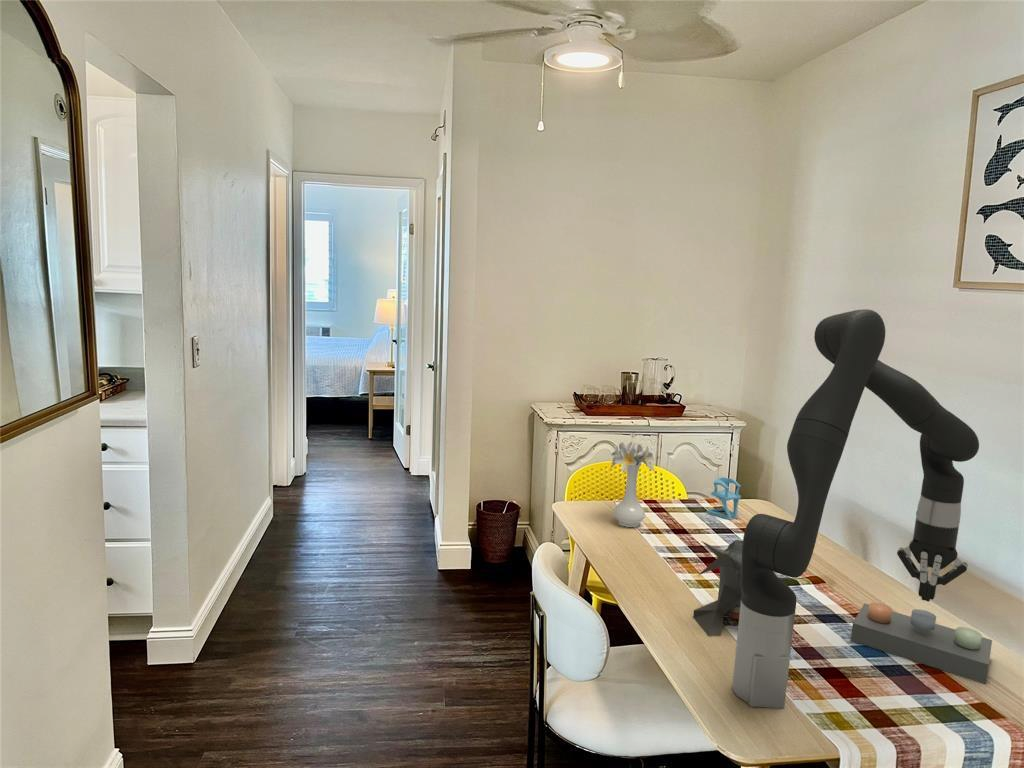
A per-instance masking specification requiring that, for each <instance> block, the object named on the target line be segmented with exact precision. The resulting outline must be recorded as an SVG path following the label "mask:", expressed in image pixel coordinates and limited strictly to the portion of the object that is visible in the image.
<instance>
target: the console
mask: <svg viewBox="0 0 1024 768" xmlns="http://www.w3.org/2000/svg"><path fill="white" fill-rule="evenodd" d="M869 604H870V603H869ZM869 604H868V603H863V604H862V607H861V608H860V610H859V612H858V614H857V615H856V616H855V619H854V620H853V621H852V624H851V625H852V627H851V633H850V641H851V642H854V643H857V644H860V645H862V646H866V647H869V648H873V649H876V650H879V651H882V652H884V653H888V654H892V655H894V656H897V657H901V658H904V659H907V660H910V661H913V662H915V663H916V662H917V663H920V664H923V665H925V666H929V667H932V668H936V669H938V670H941V671H944V672H948V673H950V674H954V675H957V676H960V677H963V678H966V679H969V680H972V681H975V682H978V683H982V684H986V683H987V677H988V670H989V665H990V659H991V651H992V644H993V640H992V639H990V638H986V637H983V636H982V638H981V644H980V648H979V649H976V650H974V649H968V648H964V647H962V646H960V645H958V644H956V643H955V641H954V638H955V632H956V628H951V627H948V626H944V625H940V624H939V623H938V624H937V623H935V629H934V630H931V631H928V630H922V629H919V628H916V627H914V626H913V625H912V624H911V623H910V621H911V615H910V616H909V615H906V614H903V613H899V612H896V611H893V610H892V615H891V621H890V622H889V623H880V622H876V621H874V620H872V619H870V618H869V617H868V609H869Z"/></svg>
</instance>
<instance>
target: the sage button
mask: <svg viewBox="0 0 1024 768" xmlns="http://www.w3.org/2000/svg"><path fill="white" fill-rule="evenodd" d="M955 629H956V632H955V638H954V641H955V643H956V644H958V645H960V646H962V647H964V648H968V649H974V650H976V649H979V648H980V644H981V638H982V637H983V636H982V635H983V634H981V633H980V632H978V630H975V629H973V628H969V627H965V626H960V627H959V626H958V627H956V628H955Z"/></svg>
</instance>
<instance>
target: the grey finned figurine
mask: <svg viewBox="0 0 1024 768" xmlns="http://www.w3.org/2000/svg"><path fill="white" fill-rule="evenodd" d="M701 543H702V544H703V545H705V546H706V548H707V549H708V550H709V551H711V552H712V554H714V556H716V559H715V560H714V561H712V562H711V563H710V564H709V565H708V566H706V568H704V569H702V571H701V572H700V573H698V574H697V576H700V575H702V574H705V573H707V572H710V571H713V570H716V569H718V568H719V583H718V584H719V585H718V593H717V600H714V601H712V602H709V603H708V604H705V605H703V606H700V607H697V608H696V609H694V610H693V616H692V617H693V619H694V620H695V621H696V622H697V624H698V625H699V626H700V628H701V629H702V630H703V632H704V633H705V632H706V633H705V634H706V636H708V637H721V636H722V630H723V623H724V618H729V619H735V620H739V614H740V606H741V596H742V591H741V585H740V583H741V566H742V544H743V540H741V539H740V540H739V539H736V540H733V541H732V542H731V543H730V544H729V545H728V547H727V548H725V549H724V550H721V549H719V548H717V547H714V546H713V545H710V544H709V543H707V542H705V541H703V540H701Z"/></svg>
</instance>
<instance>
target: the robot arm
mask: <svg viewBox="0 0 1024 768" xmlns="http://www.w3.org/2000/svg"><path fill="white" fill-rule="evenodd" d="M885 325H886V324H885V322H884V320H883V318H882V317H881V315H880V314H879V313H878V312H877V311H875V310H872V309H869V308H867V309H856V310H851V311H846V312H842V313H837V314H833V315H830V316H827V317H825V318H823V319H821V320H820V321H819V322H818V323H817V325H816V327H815V331H814V336H813V338H814V343H815V346H816V348H817V350H818V352H819V353H820V354H821V355H822V356H823V357H824V358H825V359H826V360H827V361H829V362H830V363H832V364H833V367H832V369H831V371H830V373H829V374H828V376H827V377H826V379H825V380H824V381H823V382H822V383H821V385H820V386H819V387H818V388H817V389H816V390H815V391H814V393H812V394H811V396H810V397H809V398H808V399H807V400H806V402H805V403H804V404H803V405H802V407H801V408H800V410H799V411H798V413H797V416H796V418H795V420H794V422H793V425H792V429H791V431H790V434H789V437H788V440H787V444H786V453H787V457H788V461H789V462H788V463H789V465H790V468H791V471H792V474H793V478H794V481H795V485H796V490H797V497H798V500H797V509H796V514H795V517H794V521H790V520H787V519H783V518H781V517H780V518H779V517H776V516H772V515H768V514H766V513H757V514H755V515H753V516H752V517H751V518H750V519H749V520H748V523H747V524H746V527H745V529H744V534H743V537H742V538H743V539H742V541H743V544H742V566H741V583H740V585H741V591H742V596H741V606H740V614H739V619H738V625H737V635H736V636H737V637H736V646H735V653H734V655H735V656H734V662H733V663H734V665H733V675H732V685H731V688H732V691H733V692H734V694H735V696H737V697H738V698H739V699H741V700H742V701H744V702H746V703H747V704H748V706H750V707H754V708H777V709H779V708H781V709H783V708H785V705H786V696H787V687H788V681H789V679H788V678H789V671H790V663H791V662H790V661H791V660H790V659H791V652H792V643H793V633H794V626H795V625H794V624H795V617H796V609H797V596H796V593H795V592H794V590H793V589H792V588H791V587H790V586H788V585H787V584H786V583H785V582H784V581H782V580H781V579H780V578H779V576H776V575H777V574H779V575H783V576H785V577H789V578H792V579H798V578H799V577H801V576H802V575H804V573H805V572H806V570H807V569H808V567H809V565H810V562H811V560H812V557H813V553H814V550H815V546H816V543H817V537H818V534H819V530H820V526H821V521H822V518H823V514H824V510H825V506H826V501H827V498H828V495H829V492H830V489H831V485H832V483H833V480H834V477H835V474H836V472H837V469H838V465H839V463H840V461H841V458H842V456H843V452H844V450H845V447H846V443H847V441H848V437H849V435H850V434H849V433H850V430H851V427H852V423H853V420H854V417H855V415H856V412H857V410H858V406H859V404H860V400H861V398H862V395H863V392H864V390H865V388H866V389H868V391H870V392H872V394H874V395H875V396H877V397H878V398H879V399H880V400H881V401H883V402H884V404H886V405H887V406H888V407H889V408H890V409H891V410H892V411H893V412H894V414H896V415H897V416H898V417H899V418H900V419H901V420H902V421H903V422H904V423H905V424H906V425H907V426H908V427H909V428H911V429H912V430H913V431H916V432H918V433H920V437H919V452H920V460H921V467H922V472H923V473H922V474H923V478H922V483H921V492H920V495H919V496H920V497H919V499H918V502H917V509H916V512H915V521H914V522H915V523H914V529H913V537H912V540H911V541H910V543H909V544H908V545H907V546H906V547H899V548H898V549H897V552H896V555H897V557H899V560H900V561H901V562H902V564H903V566H904V567H905V569H906V570H907V572H908V574H909V575H910V576H911V578H915V579H916V580H918V581H919V587H918V596H919V597H921V599H920V600H921V601H925V602H930V601H933V600H934V599H935V597H936V590H937V587H938V585H942V586H946V585H948V584H949V583H950V582H952V581H954V580H955V579H956V578H958V577H960V576H961V575H962V574H964V573H965V572H966V571H967V569H968V563H967V562H965V561H964V562H963V561H962V560H961V559H960V558H959V557H958V552H957V541H958V534H959V530H960V529H959V528H960V524H961V523H960V522H961V516H962V498H963V492H964V483H965V479H964V476H963V474H962V473H961V472H960V471H958V469H956V467H955V466H954V463H953V462H957V463H959V462H960V463H961V462H962V463H963V462H967V461H971V459H973V458H974V457H975V456H976V455H977V454H978V452H979V448H980V441H979V437H978V435H977V434H976V432H975V431H974V429H973V428H972V427H971V426H970V425H968V424H967V423H966V422H965V421H963V420H962V419H960V417H958V416H957V415H955V414H954V413H953V412H951V411H950V410H947V408H945V407H944V406H942V404H940V402H939V401H938V400H937V399H936V397H934V396H933V395H932V394H931V393H930V392H929V390H928V389H926V387H925V386H923V385H922V384H921V383H920V382H918V381H917V380H915V378H913V377H910V376H909V375H907V374H905V373H903V372H901V371H900V370H898V369H895V368H893V367H891V366H889V365H888V364H886V363H884V362H882V361H881V360H880V359H879V357H880V355H881V352H882V350H883V348H884V345H885V340H886V326H885ZM912 555H913V557H914V558H915V560H916V561H917V563H918V564H919V568H918V567H917V565H915V563H914V562H913V560H912V558H911V556H912ZM952 563H953V564H952ZM951 564H952V565H951ZM949 565H951V566H952V567H951V569H950V570H949V571H947V572H945V573H944V574H943V575H941V576H939V574H940V572H941V570H943V569H945V568H946V567H948V566H949ZM930 568H931V573H930V578H929V569H930ZM773 571H774V572H776V574H775V573H774V572H773Z"/></svg>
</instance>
